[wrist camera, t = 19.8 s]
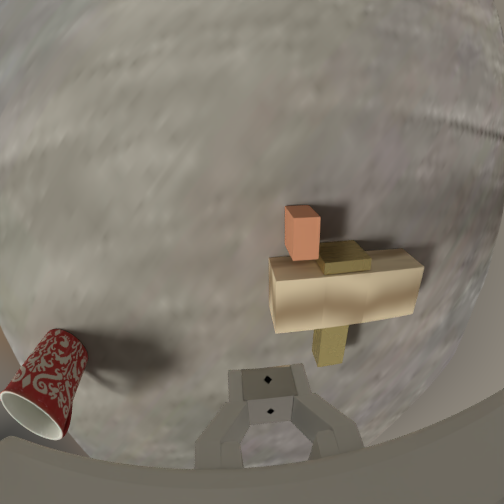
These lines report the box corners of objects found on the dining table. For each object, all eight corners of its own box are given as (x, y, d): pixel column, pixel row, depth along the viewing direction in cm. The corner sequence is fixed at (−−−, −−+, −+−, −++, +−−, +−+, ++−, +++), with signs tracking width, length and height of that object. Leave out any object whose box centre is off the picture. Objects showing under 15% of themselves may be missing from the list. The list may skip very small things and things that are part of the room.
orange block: (284, 206, 29) (293, 218, 25) (308, 205, 29) (320, 216, 25) (284, 244, 30) (292, 260, 26) (307, 242, 30) (318, 259, 27)
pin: (311, 243, 31) (324, 263, 26) (353, 240, 31) (371, 258, 27) (305, 351, 37) (314, 377, 32) (340, 345, 37) (351, 370, 33)
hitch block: (268, 257, 31) (276, 281, 26) (401, 248, 32) (424, 266, 27) (269, 305, 33) (275, 333, 29) (393, 291, 34) (412, 313, 30)
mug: (33, 317, 32) (-12, 382, 20) (86, 328, 33) (46, 406, 21) (56, 378, 37) (28, 440, 24) (103, 389, 38) (81, 460, 26)
